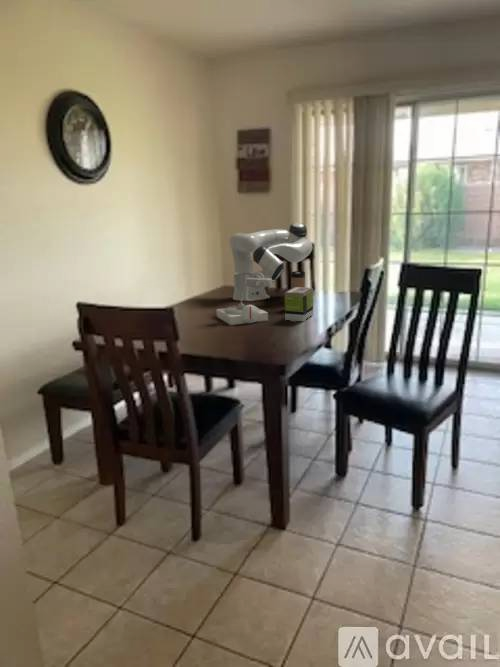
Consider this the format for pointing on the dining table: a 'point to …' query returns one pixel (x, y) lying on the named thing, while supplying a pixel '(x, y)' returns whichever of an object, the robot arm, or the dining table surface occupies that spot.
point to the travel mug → (297, 279)
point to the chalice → (240, 286)
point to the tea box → (298, 304)
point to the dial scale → (242, 315)
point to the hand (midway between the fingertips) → (246, 283)
